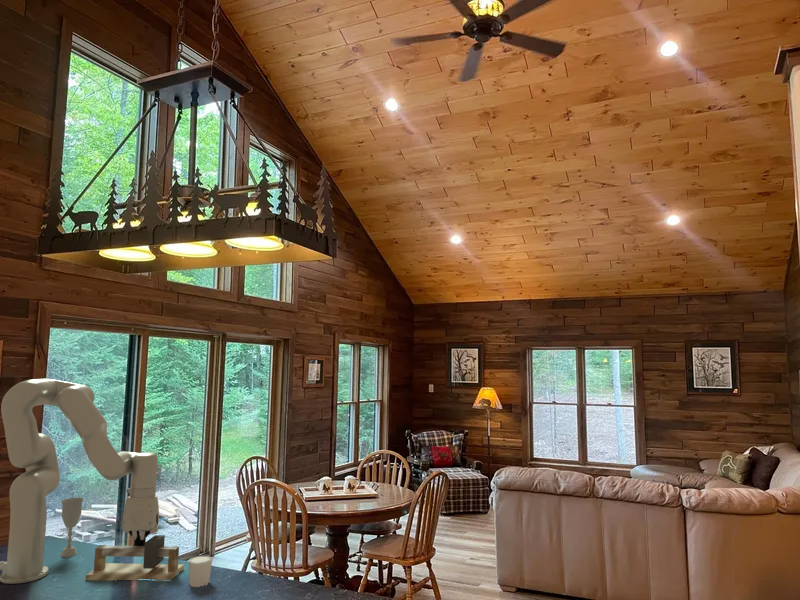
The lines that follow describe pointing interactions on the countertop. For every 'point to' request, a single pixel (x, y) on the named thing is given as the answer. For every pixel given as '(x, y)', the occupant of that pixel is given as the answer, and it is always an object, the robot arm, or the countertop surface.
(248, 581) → the countertop surface
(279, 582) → the countertop surface
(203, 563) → the cream short cylinder
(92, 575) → the pipe rig
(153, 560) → the collar
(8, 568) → the robot arm
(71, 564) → the countertop surface
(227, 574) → the countertop surface
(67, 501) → the chalice
